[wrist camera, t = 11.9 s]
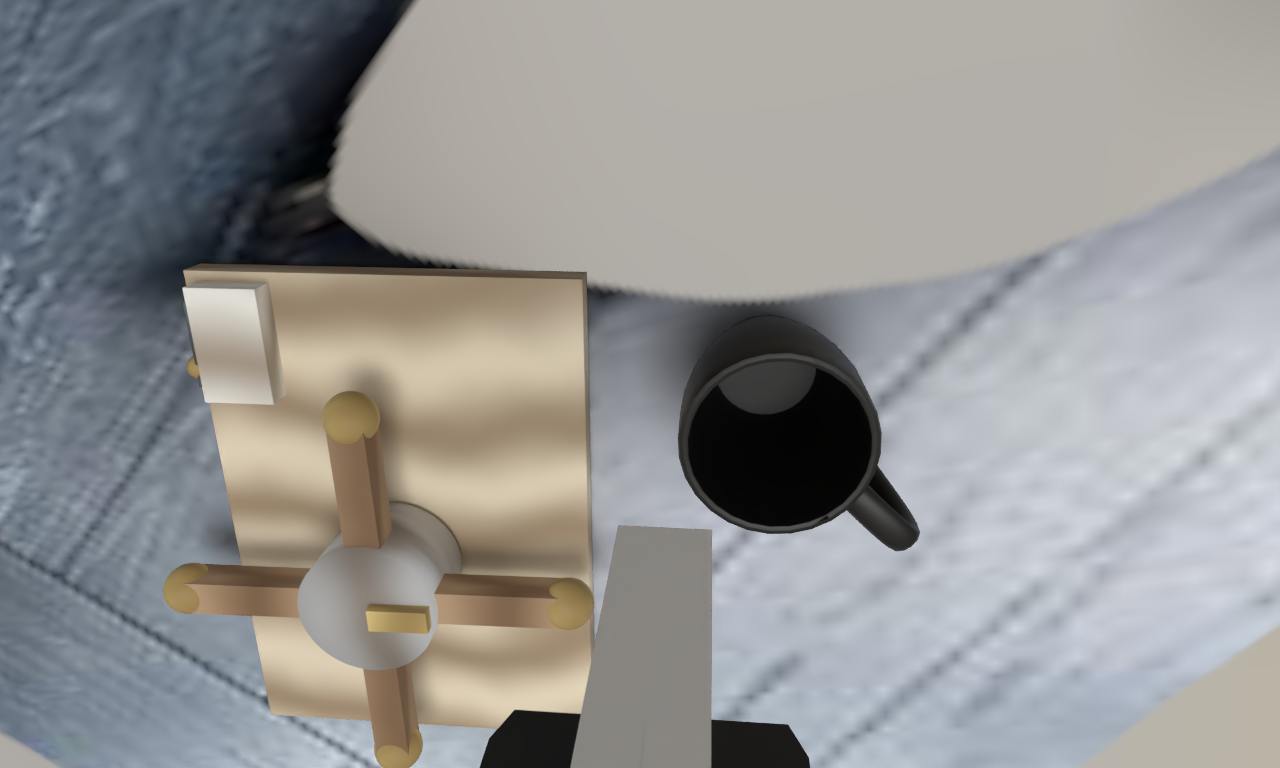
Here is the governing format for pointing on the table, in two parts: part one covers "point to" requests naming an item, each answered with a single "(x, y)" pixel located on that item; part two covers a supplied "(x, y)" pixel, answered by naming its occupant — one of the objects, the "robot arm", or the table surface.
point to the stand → (409, 455)
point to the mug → (786, 435)
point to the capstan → (379, 584)
